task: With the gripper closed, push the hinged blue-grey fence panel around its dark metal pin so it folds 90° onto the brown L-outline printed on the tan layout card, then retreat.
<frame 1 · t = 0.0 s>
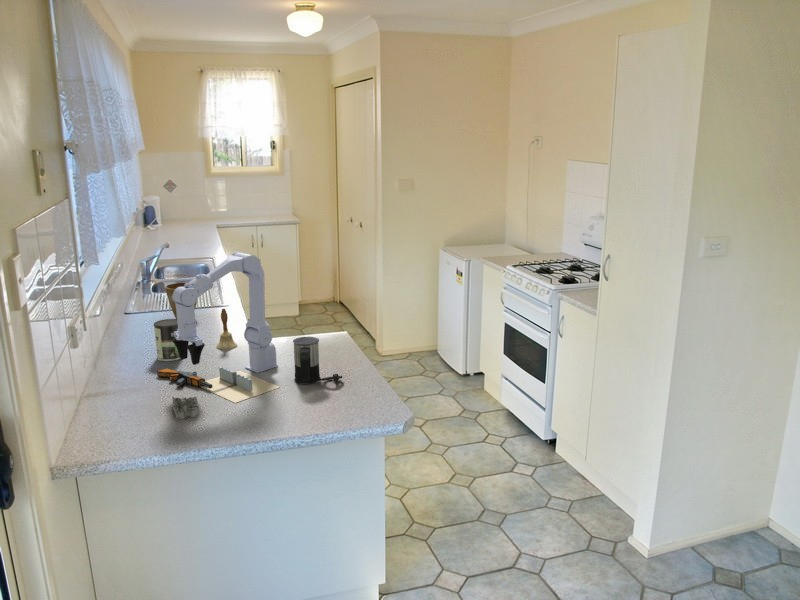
hand: (189, 361, 222), 10 cm above the worktop, fingers open, 7 cm apart
milk frother: (318, 381, 232), on the worktop
grey rock: (186, 412, 207), on the worktop
coffee can: (171, 357, 256), on the worktop
plant pot: (185, 318, 309), on the worktop
fence hinged panel: (242, 381, 224), point 3 cm above the worktop, hinge at 90.0°
hand bell: (226, 346, 269), on the worktop
toy: (186, 382, 230), on the worktop, touching layout card
fence fixed panel: (235, 385, 228), resting on layout card
layout card: (237, 386, 227), on the worktop
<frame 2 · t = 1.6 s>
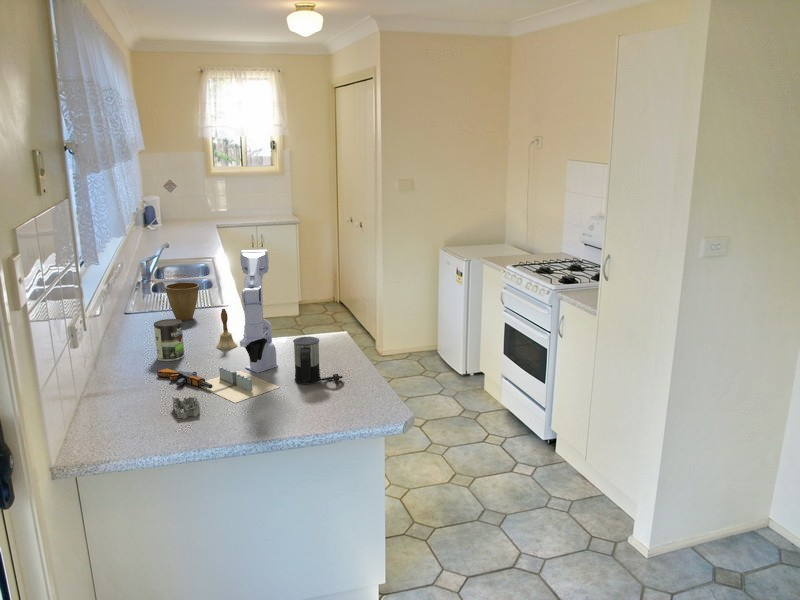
hand: (256, 360, 224), 9 cm above the worktop, fingers closed
nothing on the worktop moved.
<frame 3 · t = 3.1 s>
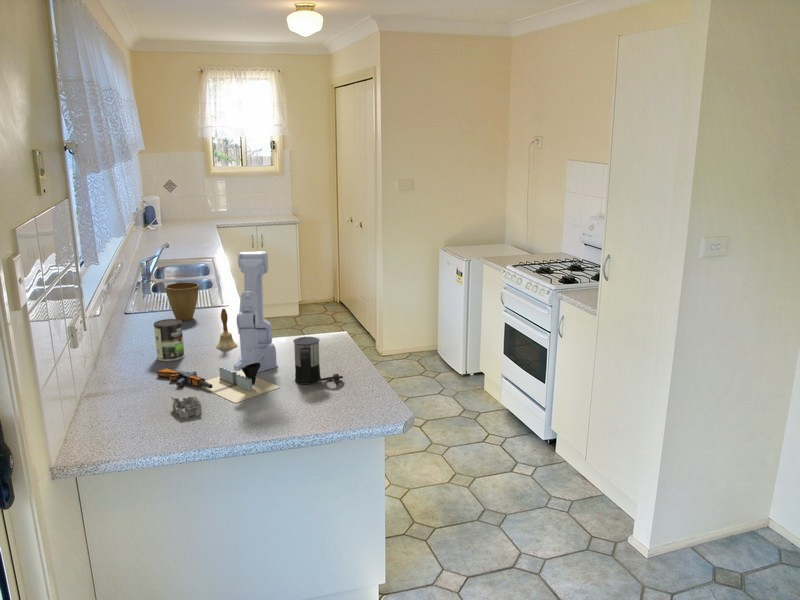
hand: (251, 384, 224), 2 cm above the worktop, fingers closed
fence hinged panel: (242, 381, 224), point 3 cm above the worktop, hinge at 90.0°, touching gripper
everything else where it was.
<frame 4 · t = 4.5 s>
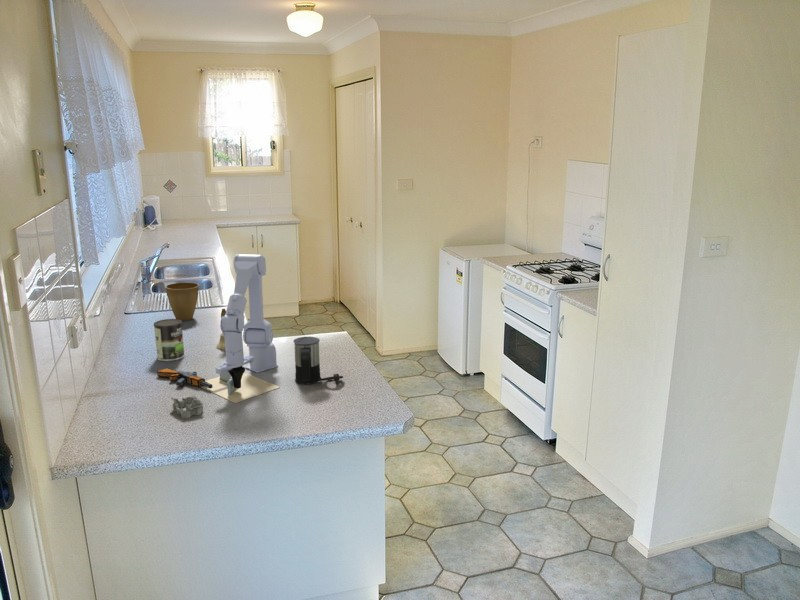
hand: (237, 387, 222), 2 cm above the worktop, fingers closed, pressing on fence hinged panel
fence hinged panel: (232, 382, 223), point 3 cm above the worktop, hinge at 43.3°, touching gripper
everything else where it was.
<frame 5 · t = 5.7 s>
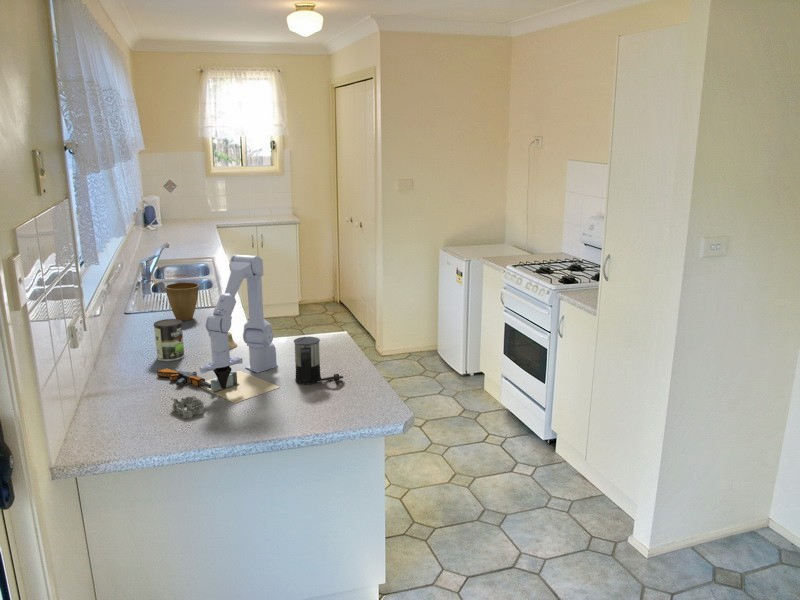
hand: (223, 387, 221), 2 cm above the worktop, fingers closed, pressing on fence hinged panel
fence hinged panel: (224, 381, 224), point 3 cm above the worktop, hinge at -0.1°, touching gripper
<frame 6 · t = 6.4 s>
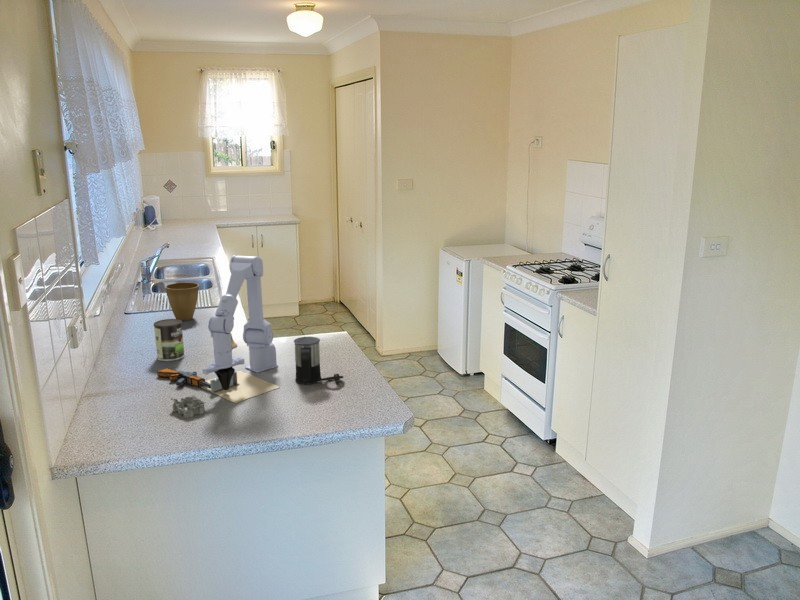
hand: (225, 389, 220), 2 cm above the worktop, fingers closed
fence hinged panel: (224, 381, 224), point 3 cm above the worktop, hinge at -1.0°
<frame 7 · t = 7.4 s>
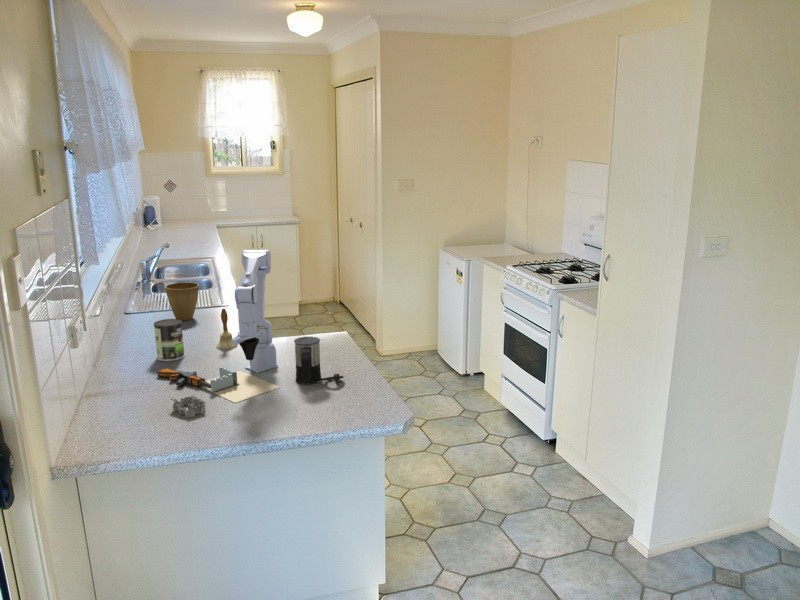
hand: (249, 359, 224), 10 cm above the worktop, fingers closed
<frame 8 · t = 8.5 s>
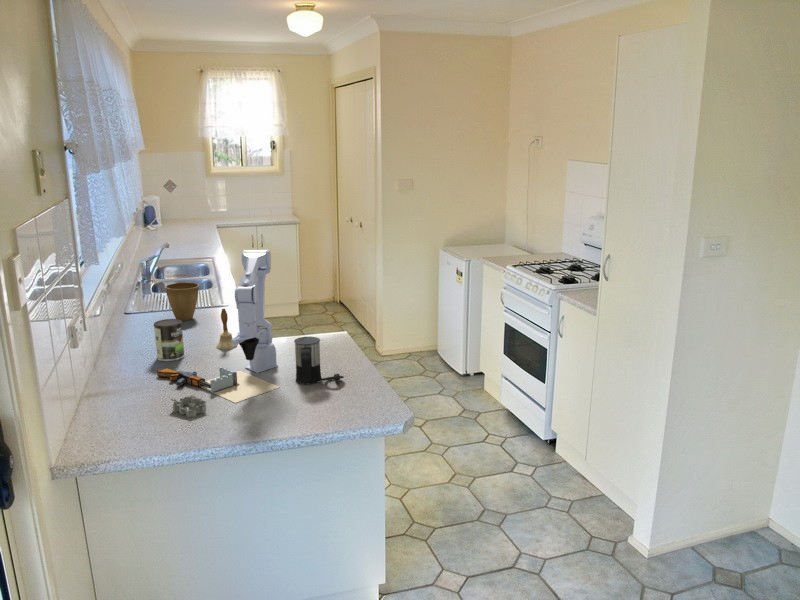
hand: (249, 359, 224), 10 cm above the worktop, fingers closed
at the end: fence hinged panel at -1° (first picture: +90°); the gripper is holding nothing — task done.
